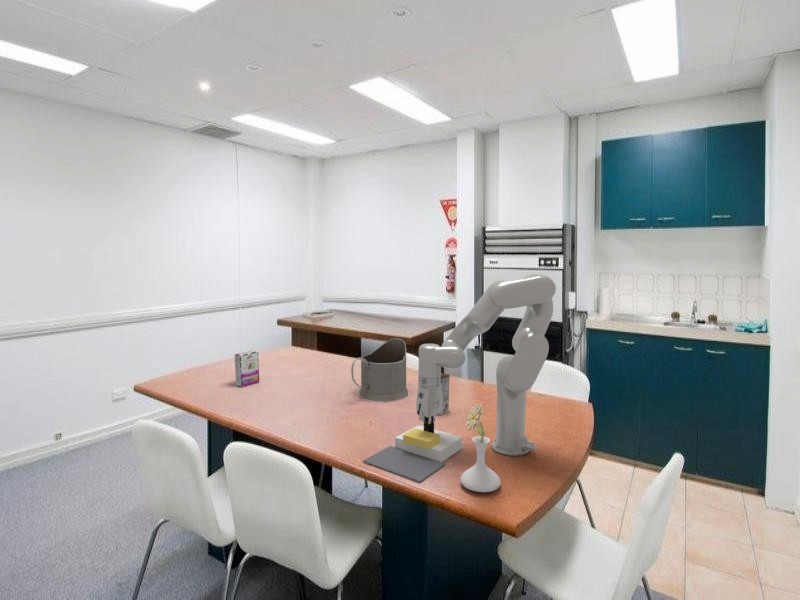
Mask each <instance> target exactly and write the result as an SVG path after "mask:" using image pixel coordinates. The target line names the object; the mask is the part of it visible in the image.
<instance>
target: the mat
mask: <svg viewBox="0 0 800 600" xmlns="http://www.w3.org/2000/svg"><path fill="white" fill-rule="evenodd" d="M363 462H365V463H364V464H366V463H368V464H367V465H369V464H371V465H370V466H372V465H374V466H376V467H375V468H377V467H379V468H378V469H380V468H381V469H380V470H383V469H384V470H383V471H385V470H387V471H386V472H388V471H389V472H388V473H391V472H392V473H391V474H394V475H396V474H398V475H397V476H399V475H400V476H399V477H402V476H403V477H402V478H404V479H407V478H408V479H407V480H410V481H413V482H416V483H418V484H421V483H422V482H424V481H425V480H427V479H428V478H429V477H431V476H433V474H435V473H437V472H438V471H440V470H441V469H442V468H443V467H445V466H446V463H445V462H439V461H436V460H433V459H430V458H427V457H424V456H420V455H417V454H414V453H411V452H408V451H405V450H402V449H399V448H395V446H392V445H389V446H387V447H385V448H383V449H381V450H379V451H378V452H375V453H374V454H373V455H370V456H369V457H366V458H364V459H363V460H362V463H363ZM374 466H373V467H374Z"/></svg>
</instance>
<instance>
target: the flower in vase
mask: <svg viewBox="0 0 800 600" xmlns="http://www.w3.org/2000/svg"><path fill="white" fill-rule="evenodd" d="M470 409H471V410H470V412H469V414H467V417H466V419H467V420H466V423H465V427H466V430H467V431H472V430H474V429H475V428H476V429H475V430H476V433H477V434H478V435H477V436H474V437H472V440H471V441H472V442H473V443H474V445H475V449H476V450H475V451H476V462H475V464H474V465H473V466H470V467H469V468H468V469H466V470H465V471H464V472H463V473H462V474H461V475H460V478H459V479H460V480H459V481H460V483H461V485H462V486H464V488H466V489H467V490H470V491H473V492H477V493H489V492H490V493H491V492H493V491H496V490H498V489H499V488H500V486H501V483H502V482H501V478H500V477H499V475H498V474H497V473H496V472H495V471H494V470H492V469H491V468H490V467H488V466H487V464H486V459H485V458H486V456H485V455H486V450H487V446H488V444H489V443H490V441H491V439H490V438H489V437H487V436H485V434H486V431H485V430H484V427H483V424H482V422H481V419H482V417H483V414H484V412H483V410H484V408H483V405H482V404H480V405H479V403H476V404H475V405H474V406H472V407H471V408H470Z"/></svg>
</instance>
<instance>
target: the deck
mask: <svg viewBox="0 0 800 600" xmlns="http://www.w3.org/2000/svg"><path fill="white" fill-rule="evenodd" d="M414 428H416V429H420V430H423V431H424V425H415V426H414V427H412V428H411V429H409V430H407V431H404V432H403V433H401V434H400V435H397V436H395V437H394V447H395V448H399V449H402V450H405V451H408V452H411V453H414V454H417V455H420V456H424V457H427V458H430V459H433V460H436V461H439V462H442V463H444V461H446V460H447V459H449V458H450V457H451V456H453V455H455V454H456V453H457V452H458V453H459V451H461V450H462V449H463V436H460V435H456V434H452V433H448V432H446V431H442V430H437V429H435V428H434V433H435V434H439V435H440V442H439V443H438V444H436V445H435V446H433V447H432V448H430V449H425V448H422V447H418V446H415V445H411V444H408V443H404V442H403V435H404V434H405V433H407V432H409V431H411V430H413V429H414Z"/></svg>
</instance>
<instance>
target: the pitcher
mask: <svg viewBox="0 0 800 600" xmlns="http://www.w3.org/2000/svg"><path fill="white" fill-rule="evenodd" d="M358 360H360V378H361V379H360V383H361V384H360V385H359V384H358V383H357V382H356V380H355V376H354V375H355V374H354V366H355V363H356V362H357V361H358ZM350 372H351V378H352V382H353V383H354V385H356V386H357V387H358V388H360V391H359V393H358V395H359V398H361V399H363V400H365V399H366V401H369V402H376V403H377V402H379V403H389V402H397V401H400V400H403V399H406V398H408V396H409V394H408V393H409V391H408V389H407V346H406V343H405V341H403V340H402V339H401V338H391V339H389V340H387V341H385V342H384V343H383V344H381V345H380V346H379V347H378V348H377V349H375V350H374V351H372V352H371V353H368V354H365V355H363V356H362V357H357V358H355V359H354V360H353V362H352V364H351V369H350ZM405 397H406V398H405Z"/></svg>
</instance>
